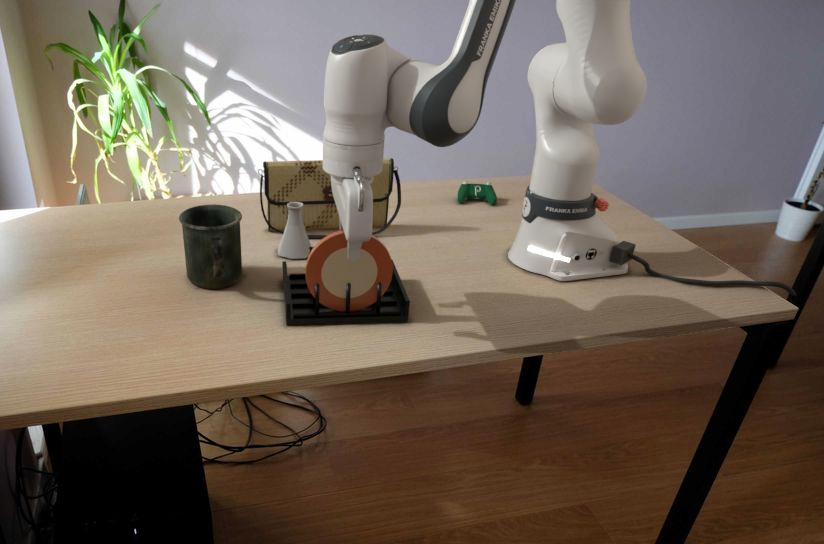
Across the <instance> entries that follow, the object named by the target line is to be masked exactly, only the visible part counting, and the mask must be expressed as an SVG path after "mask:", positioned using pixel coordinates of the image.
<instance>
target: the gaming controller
mask: <svg viewBox="0 0 824 544" xmlns="http://www.w3.org/2000/svg"><path fill="white" fill-rule="evenodd" d="M468 181H469V180H464V181H463V182H462V183H461V184H460V186H459V188H458V191H457V202H458V203H459V204H464V203H465V201H466V200H467V199H468V200H472V199H477V200H481V201H484V200H486V201H487V202H488V204H489V205H491V206H496V205H497V202H498V197H497V193H496V191H495V189H494V187H493V185H492V182H491V181H486V184H485V183H469V182H468Z"/></svg>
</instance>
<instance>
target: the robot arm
mask: <svg viewBox="0 0 824 544" xmlns="http://www.w3.org/2000/svg"><path fill="white" fill-rule="evenodd" d="M515 4H516V0H468V5H467V7H466V11H465V14H464V16H463V19H462V22H461V25H460V27H459V31H458V34H457V37H456V39H455V41H454V44H453V48H452V51H451V52H450V55H449V57H448V58H447V60H446V61H444V62H443V63H442V64H440V65H437V64H434V63H433V64H432V63H428V62H425V61H422V60H418V59H414V58H411V57H410V56H408V55H405V54H402V53H400V52H399V51H397V50H396V49H394V48H392V47H391V45H389V44H388V43H387V41H386V40H385V38H384V37H382V36H380V35H377V34H359V35H358V34H355V35H351V36H347V37H344V38H341V39H339V40H338V41H336V43H334V44H333V45H332V46H331V48H330V50H329V52H328V56H327V60H326V65H325V72H324V85H323V109H324V114H325V126H324V130H323V133H322V160H323V170H324V171H325V172H326V173H328V174H330V175H331V187H332V193H333V197H334V200H335V204H336V207H337V210H338V214H339V218H340V227H339V231H341V230H344V234H345V237H346V240H347V241H348V246H347V257H348V259H349V260H358V259H359V258H360V249H361V246H362V242H366V241H370V239H371V236H372V232H373V226H372V222H373V193H372V188H371V186H370V184H371V183H372V182H373V176H376V175H378V174H380V173H381V172H382V169H383V159H384V155H385V154H384V152H385V140H386V139H385V137H386V136H385V131H386V129H388V128H392V127H394V128H395V129H396V130H399V131H402V132H404V133H407V134H411V135H413V136H416V137H417V138H419V139H421V140H423V141H425V142H426V143H429V144H430V145H432V146H434V147H438V148H446V147H447V148H448V147H450V146H454V145H455V144H457V143H458V142H460V141H462V140H463V139H464V138H465V137H467V136H468V135H469V134H470V133H471V132H472V130H473V129H474V128H475V126H476V125H477V123H478V121H479V118H480V117H481V114H482V109H483V105H484V104H483V103H484V99H485V93H486V89H487V84H488V82H489V79H490V75H491V72H492V70H493V66H494V64H495V61H496V58H497V55H498V52H499V49H500V48H501V44H502V42H503V39H504V35H505V33H506V31H507V27H508V25H509V21H510V19H511V16H512V13H513V10H514V7H515ZM555 9H556V13H557V17H558V19H559V20H560V22H561V25H562V28H563V31H564V38H565V42H558V43H551V44H548V45H545V46H544V47H543V48H541V49H540V50H539V51H538V52H537V53H536V54H535V55H534V56H533V58H532V60H531V61H530V64H529V66H528V70H527V84H528V88H529V89H530V92H531V94H532V98H533V104H534V117H535V152H534V158H533V163H532V170H531V176H530V181H529V185H528V186H527V187H526V189H525V194H524V199H523V202H522V209H521V221H520V224H519V227H518V230H517V232H516V235H515V238H514V240H513V243H512V245H511V247H510V248H509V250H508V253H507V257H508V259H509V261H510V262H512V264H513V265H515V266H517V267H518V268H520V269H523V270H525V271H528V272H531V273H535V274H539V275H542V276H546V277H548V278H551V279H553V280H555V281H559V282H569V281H578V280H579V281H580V280H584V279H586V280H587V279H595V278H601V277H602V278H603V277H610V276H618V275H624V274H625V275H626V274H627V273H628V271H629V264H628V262H630V261H631V260H633V261H635V262H638V263H639V264H641V266H643V267H644V271H645V272H646V273H647V274H649V275H651V276H653V277H657V278H661V279H664V280H665V279H666V280H670V281H673V282H678V283H682V284H690V285H699V286H709V287H710V286H711V287H720V286H751V287H775V288H780V289H783V290H785V291H786V292H787V293H788V294H789V295H790V296H797V292H796V291H795V290H794V289H793V288H792V287H791V286H790V285H788V284H785V283H783V282H779V281H768V280H767V281H765V280H764V281H761V280H760V281H757V280H743V279H741V280H739V279H738V280H735V279H733V280H703V279H696V278H684V277H677V276H671V275H667V274H664V273H663V274H662V273H660V272H657V271H655V270H653V269H651V267H650V264H649V262H647V261H646V260H645V259H644V258H641V257H639V256H637V255H636V254H634V252H635V249H636V246H637V245H636V243H632V242H630V241H626V240H623V241H620V240H619V239H620V238H619V236H618V234H617V233H616V232H615V230H614V229H613V228H612V227H611V226H610V225H609V224H608V223H607V222H606V221H605V220H604V219H603V218H602V217H601V216H599V214H597V211H596V210H598V211H599V212H606V211H607V210H608V209H609V207H610V206H609V205H610V203H609V201H607V200H605V199H604V198H602V197H600V198H599V196H597V195H596V194H594V193H593V192H592V191H593V187H594V182H595V179H596V174H597V170H598V166H599V163H600V157H601V155H600V154H601V152H600V147H599V144H598V142H597V140H596V135H595V132H594V125H602V126H603V125H604V126H609V125H610V126H613V125H619V124H622V123H624V122H626V121H628V120H630V119H631V118H632V117H633V116H634V115H635V114H636V113H637V112H638V111H639V109H640V108H641V106H642V105H643V103H644V101H645V97H646V95H647V92H648V91H647V90H648V80H647V76H646V74H645V71H644V70H643V68H642V67H641V65H640V63H639V61H638V58H637V55H636V52H635V46H634V40H633V35H632V34H633V33H632V23H631V0H555Z"/></svg>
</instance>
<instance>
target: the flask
mask: <svg viewBox="0 0 824 544" xmlns="http://www.w3.org/2000/svg"><path fill="white" fill-rule="evenodd" d="M287 207H288V209H289V215H288V220H287V225H286V228H285V230H283V231H284V233H283V234H282V236H281V239H280V242H279V245H278V247H277V254H278V256H280V257H282V258H286V259H290V260H294V259H308V256H309V247H310V246H311V247H312V245H311V241H310V238H308V236H307V235H308V233H307V229H305V227H304V224H303V219H302V208H303V203H300V202H290V203H288V204H287Z"/></svg>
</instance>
